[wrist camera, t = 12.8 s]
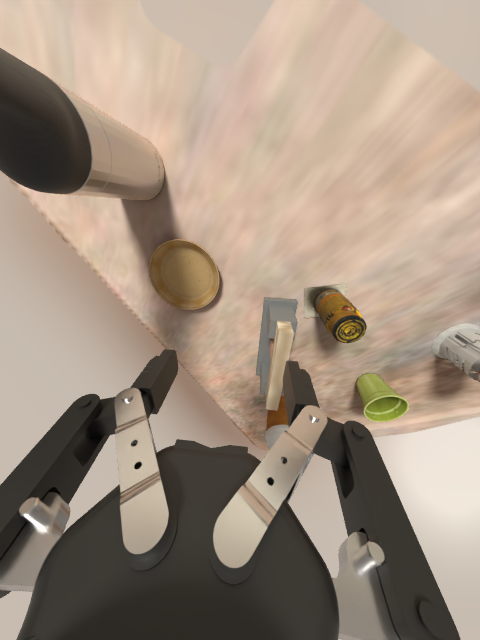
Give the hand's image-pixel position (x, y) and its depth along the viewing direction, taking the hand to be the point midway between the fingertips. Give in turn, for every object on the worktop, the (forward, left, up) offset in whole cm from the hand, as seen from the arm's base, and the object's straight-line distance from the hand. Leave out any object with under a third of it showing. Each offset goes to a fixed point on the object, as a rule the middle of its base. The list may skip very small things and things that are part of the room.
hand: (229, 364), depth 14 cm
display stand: (+8, -18, -30) cm, 36 cm away
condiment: (+17, -7, -30) cm, 36 cm away
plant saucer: (-13, -3, -31) cm, 33 cm away
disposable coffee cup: (+12, -41, -30) cm, 52 cm away
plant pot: (+34, -29, -30) cm, 54 cm away
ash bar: (+7, -18, -22) cm, 29 cm away
